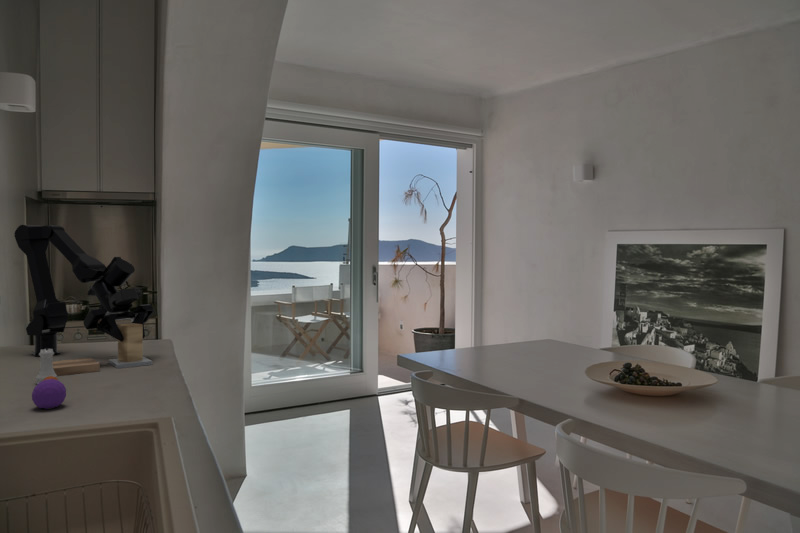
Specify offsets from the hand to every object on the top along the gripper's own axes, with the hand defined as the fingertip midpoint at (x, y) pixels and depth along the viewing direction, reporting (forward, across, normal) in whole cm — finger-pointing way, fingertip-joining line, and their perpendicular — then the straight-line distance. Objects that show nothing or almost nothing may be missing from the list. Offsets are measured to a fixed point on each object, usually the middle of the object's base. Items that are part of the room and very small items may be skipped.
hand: (133, 339), depth 161 cm
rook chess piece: (+7, -25, +3) cm, 26 cm away
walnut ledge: (+1, -14, +9) cm, 17 cm away
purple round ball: (+18, -33, -8) cm, 39 cm away
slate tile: (+4, 0, +6) cm, 7 cm away
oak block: (+3, 0, +5) cm, 6 cm away
